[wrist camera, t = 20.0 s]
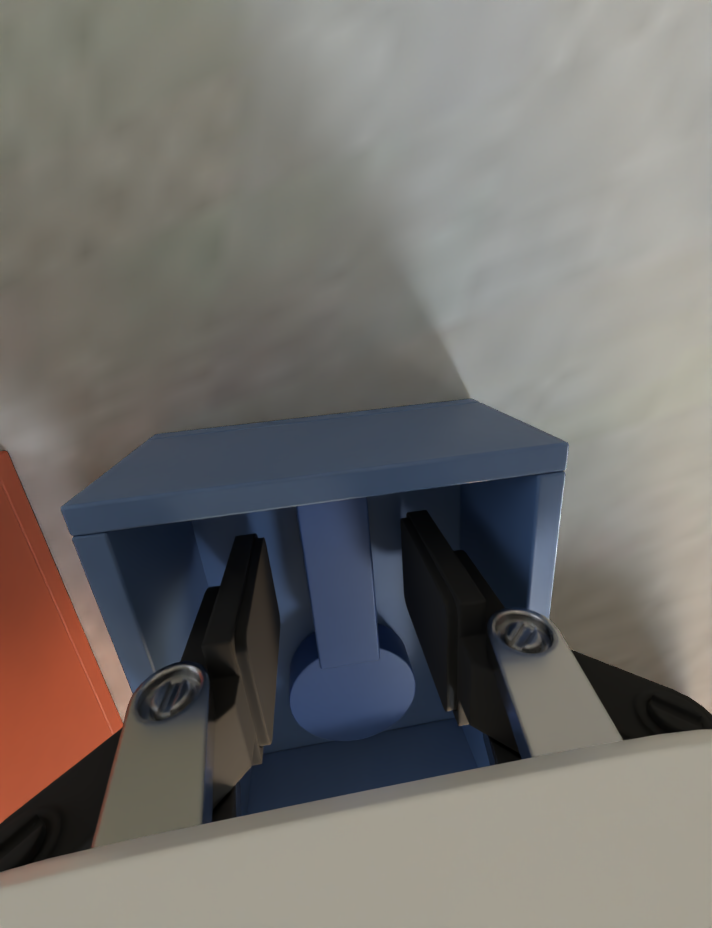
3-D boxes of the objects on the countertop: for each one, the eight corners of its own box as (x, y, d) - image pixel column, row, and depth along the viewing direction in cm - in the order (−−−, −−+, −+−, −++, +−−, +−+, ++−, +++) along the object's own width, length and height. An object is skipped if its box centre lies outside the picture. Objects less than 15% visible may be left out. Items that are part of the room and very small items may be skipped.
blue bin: (153, 433, 11) (57, 507, 7) (472, 397, 12) (570, 442, 7) (242, 752, 16) (220, 917, 11) (465, 710, 16) (523, 849, 12)
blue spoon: (250, 464, 11) (240, 490, 9) (397, 446, 11) (414, 468, 10) (298, 718, 14) (298, 770, 13) (409, 698, 15) (422, 746, 13)
